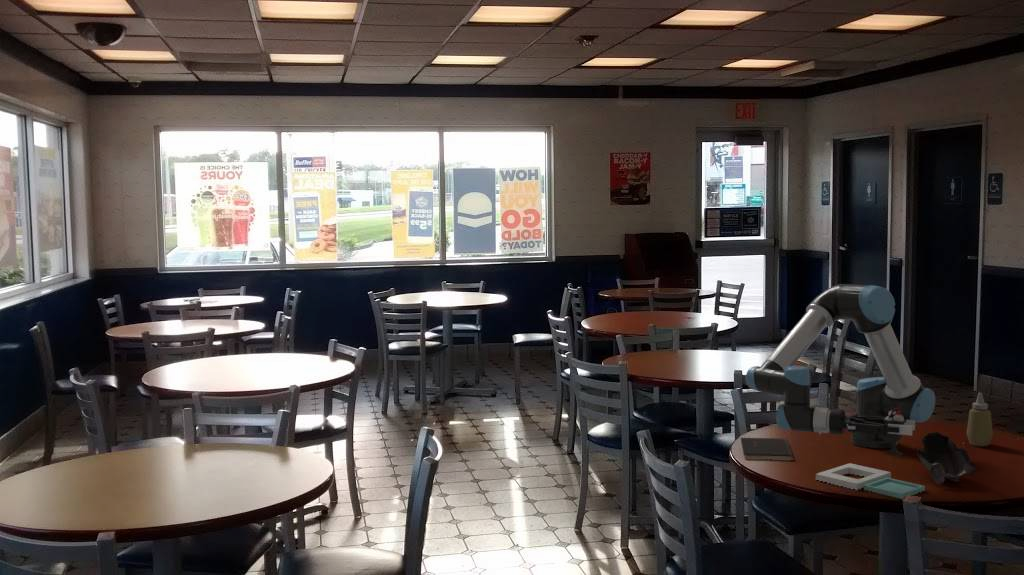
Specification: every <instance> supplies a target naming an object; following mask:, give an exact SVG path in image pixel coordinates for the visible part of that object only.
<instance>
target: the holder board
mask: <svg viewBox="0 0 1024 575" xmlns="http://www.w3.org/2000/svg"><path fill="white" fill-rule="evenodd" d="M847 474H849V475H853V474H854V475H853V476H857V475H859V477H862V476H864V477H862V478H854V477H850V476H845V475H847ZM891 475H892V473H891V472H890V471H886V470H883V469H877V468H873V467H868V466H865V465H860V464H859V465H858V464H855V463H850V462H849V463H846V464H844V465H840V466H839V465H838V466H837V467H833V468H831V469H830V468H829V469H828V470H823V471H820V472H817V473H815V481H816V480H819V481H818V482H820V481H823V482H822V483H824V482H827V483H826V484H829V483H831V484H830V485H833V484H834V486H837V485H838V487H841V486H843V487H842V488H845V487H846V488H845V489H849V488H850V489H849V490H853V489H855V490H854V491H859V490H858V489H860V490H862V489H861V488H863V489H864V485H866V484H869V483H872V482H875V481H878V480H881V479H883V478H886V477H887V478H891V479H892V477H891Z"/></svg>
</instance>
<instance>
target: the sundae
mask: <svg viewBox="0 0 1024 575" xmlns="http://www.w3.org/2000/svg"><path fill="white" fill-rule="evenodd" d="M901 405H903V404H901V403H900V406H901ZM900 406H898V407H900ZM898 407H897V408H895V410H891V411H889V412H888V411H885V417H884V418H882V419H883V420H884V421H885V424H886V425H887V426H888V424H899V425H904V423H905V422H906V421H907V419H904V417H903V415H902V414H901V411H899V409H898ZM887 437H888V439H889V440H891V441H892V447H891V448H890V450H885V451H884V454H886V455H889V456H902V455H904V453H903V452H901V451H899V450H898V449H897V446H896V442H897V443H898V442H899V441H900V440H901V439H902V438H903V435H900V434H889V433H888V432H887Z"/></svg>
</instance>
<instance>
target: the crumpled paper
mask: <svg viewBox="0 0 1024 575" xmlns="http://www.w3.org/2000/svg"><path fill="white" fill-rule="evenodd" d="M950 436H951V434H948V435H943V434H942V433H941V432H939V431H936V432H931V433H927V434H925V435H924V436H923V437H922V438H921V441H920V443H921V444H923V447H924V448H923V449H922V450H921V449H919V447H918V448H916V449H917V452H916V453H917V456H918V458H919V460H920V462H921V463H922V464H923V466H925V468H926V469H928V471H929V476H930V477H931V479H932V480H933V483H935V485H942V484H943V483H944V482H945V481H946V480H948V481H952V482H955V483H958V482H959V481H960V478H961V476H963V475H964V474H969V475H973V474H974V473H975V469H976V464H975V463H974V462H972V461H971V458H970V456H969V453H968V451H967V450H965V449H964V448H959V447H958V446H957V444H956V443H955V442H954V441H953V440H950Z"/></svg>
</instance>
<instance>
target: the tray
mask: <svg viewBox="0 0 1024 575" xmlns="http://www.w3.org/2000/svg"><path fill="white" fill-rule="evenodd" d="M925 487H926V486H925V485H922V484H917V483H914V482H913V483H912V482H908V481H905V480H899V479H895V478H892V477H891V478H887V477H886V478H883V479H881V480H878V481H875V482H872V483H869V484H866V485H864V488H863V490H864V491H867V490H868V491H867V492H871V491H872V492H871V493H874V494H879V495H882V496H883V495H884V496H889V497H892V498H896V499H900V500H904V499H905V498H904V497H905V496H908V495H912V496H914V495H917V494H920V493H923V492H925V491H924V490H925V489H926V488H925ZM922 491H923V492H922ZM919 492H920V493H919ZM903 498H904V499H903Z"/></svg>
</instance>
